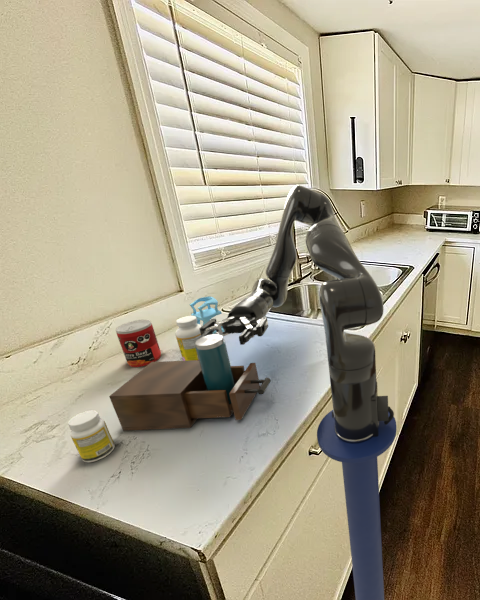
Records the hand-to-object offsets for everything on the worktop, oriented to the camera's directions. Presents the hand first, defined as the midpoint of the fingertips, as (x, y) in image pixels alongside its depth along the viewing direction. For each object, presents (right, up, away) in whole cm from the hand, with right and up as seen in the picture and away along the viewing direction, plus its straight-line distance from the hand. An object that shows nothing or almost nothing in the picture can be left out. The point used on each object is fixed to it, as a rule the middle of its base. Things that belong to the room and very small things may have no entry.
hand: (221, 341), depth 72 cm
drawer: (+2, -14, +1) cm, 14 cm away
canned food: (-33, -8, +20) cm, 40 cm away
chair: (-24, -2, +37) cm, 44 cm away
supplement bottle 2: (-18, -8, +20) cm, 28 cm away
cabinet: (-11, -15, +1) cm, 19 cm away
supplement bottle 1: (-17, -20, -11) cm, 28 cm away
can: (0, -13, 0) cm, 13 cm away
